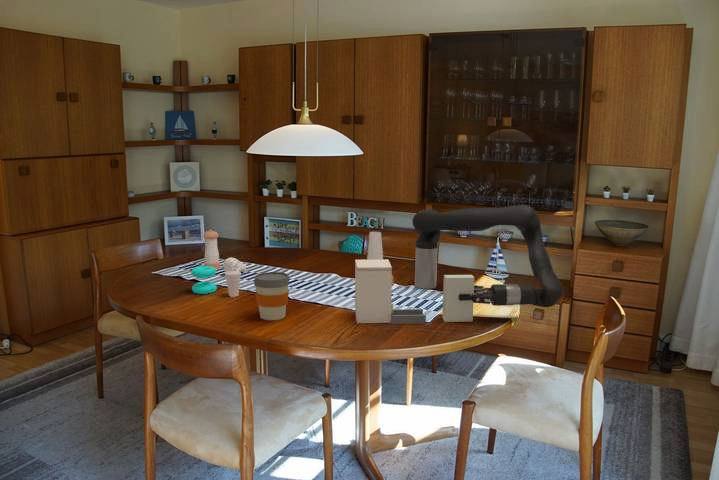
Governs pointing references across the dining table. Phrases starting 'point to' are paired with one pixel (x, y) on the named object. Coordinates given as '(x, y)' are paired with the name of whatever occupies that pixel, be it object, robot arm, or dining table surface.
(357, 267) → the hinge cabinet
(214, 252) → the salt shaker
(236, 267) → the white lumpy piece
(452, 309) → the door panel
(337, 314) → the dining table surface
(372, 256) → the champagne flute
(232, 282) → the smoothie
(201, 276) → the donuts
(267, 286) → the reusable coffee cup
